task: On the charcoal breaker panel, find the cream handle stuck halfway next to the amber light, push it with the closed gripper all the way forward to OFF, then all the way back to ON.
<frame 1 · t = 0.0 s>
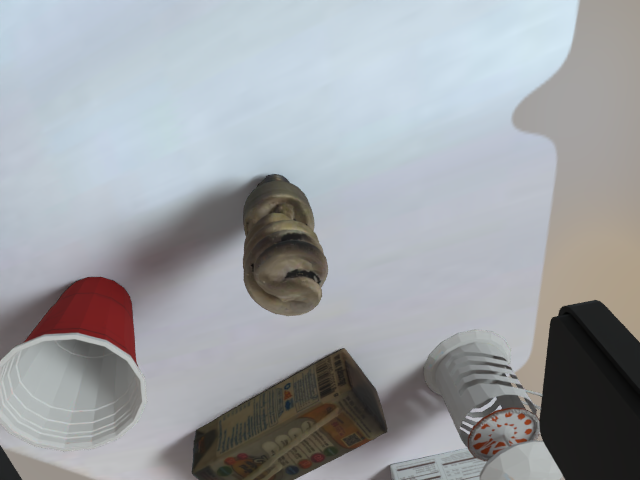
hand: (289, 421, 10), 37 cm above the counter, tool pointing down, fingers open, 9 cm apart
french press: (474, 363, 62), on the counter
plastic cup: (100, 299, 51), on the counter
beverage carton: (285, 406, 62), on the counter
light bulb: (272, 186, 48), on the counter
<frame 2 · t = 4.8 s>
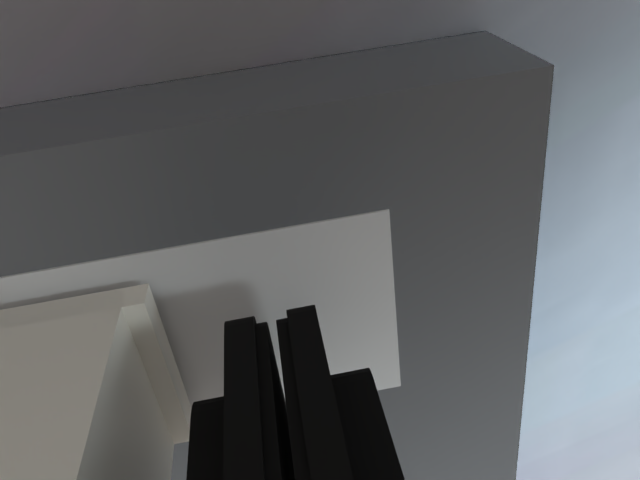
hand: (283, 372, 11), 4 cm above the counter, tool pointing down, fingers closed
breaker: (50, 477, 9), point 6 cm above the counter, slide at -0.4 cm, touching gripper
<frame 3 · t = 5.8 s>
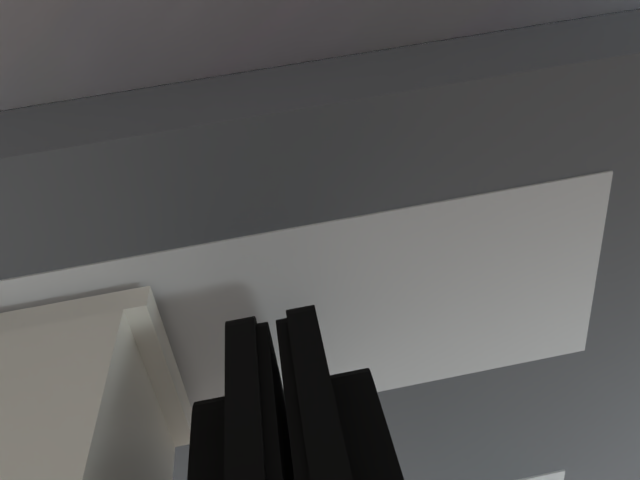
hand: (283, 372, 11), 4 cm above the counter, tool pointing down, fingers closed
breaker panel: (339, 474, 19), on the counter
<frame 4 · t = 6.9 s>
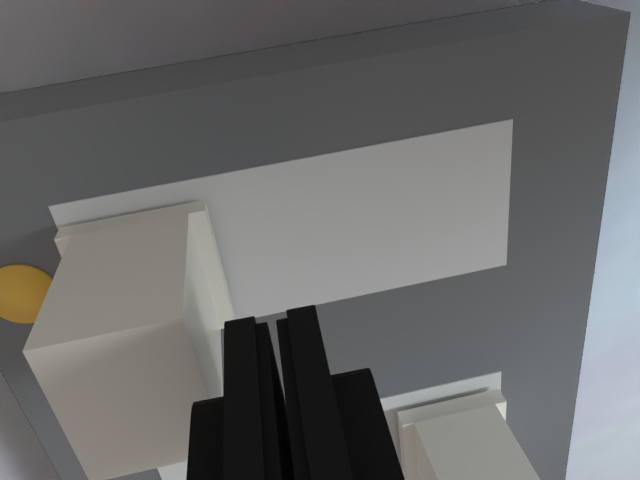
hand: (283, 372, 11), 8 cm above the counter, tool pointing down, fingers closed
breaker panel: (322, 394, 23), on the counter
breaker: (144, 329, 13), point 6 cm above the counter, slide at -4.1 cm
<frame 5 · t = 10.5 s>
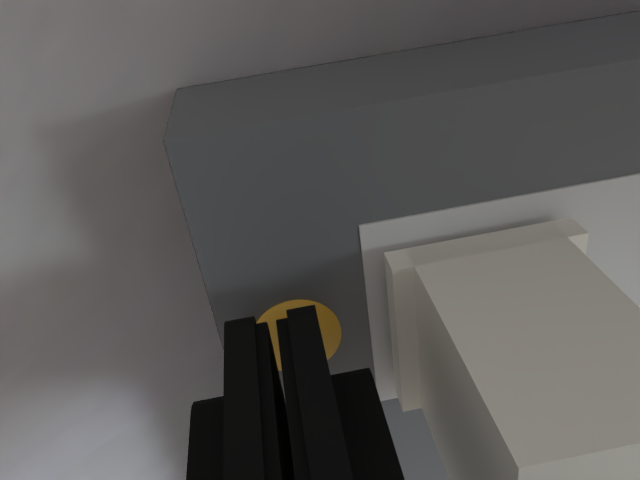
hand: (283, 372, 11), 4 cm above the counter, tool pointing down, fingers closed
breaker panel: (546, 437, 19), on the counter
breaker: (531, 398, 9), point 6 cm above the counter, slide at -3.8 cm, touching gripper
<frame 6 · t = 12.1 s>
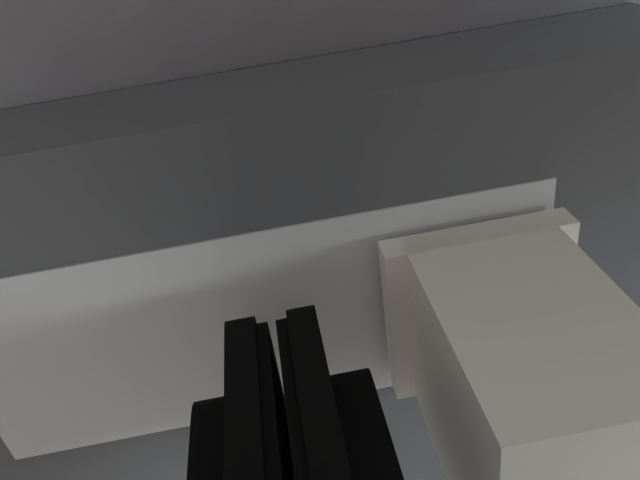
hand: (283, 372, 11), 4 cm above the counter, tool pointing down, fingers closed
breaker panel: (309, 476, 19), on the counter
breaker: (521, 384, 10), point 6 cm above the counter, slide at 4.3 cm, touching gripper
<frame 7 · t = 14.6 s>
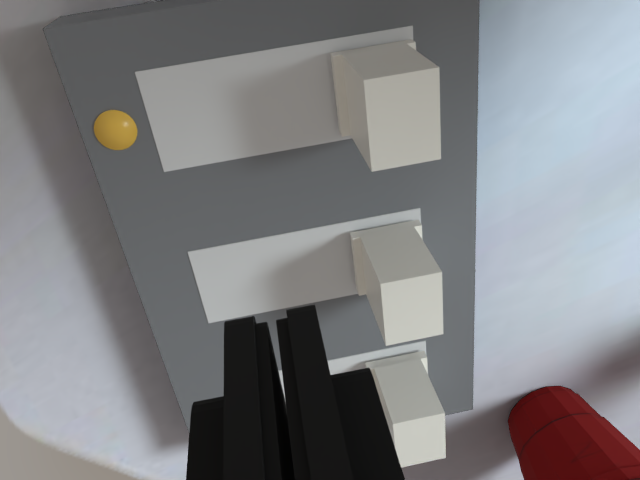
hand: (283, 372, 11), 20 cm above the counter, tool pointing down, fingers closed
breaker panel: (304, 238, 33), on the counter
plastic cup: (543, 408, 44), on the counter
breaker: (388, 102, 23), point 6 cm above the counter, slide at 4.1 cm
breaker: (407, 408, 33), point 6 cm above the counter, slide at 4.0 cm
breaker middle: (398, 280, 28), point 6 cm above the counter, slide at 4.0 cm
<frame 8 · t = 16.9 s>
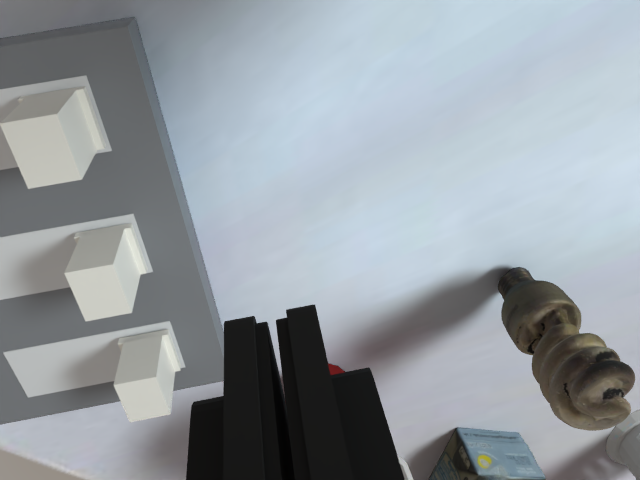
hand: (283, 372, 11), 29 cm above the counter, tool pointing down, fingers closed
breaker panel: (64, 237, 40), on the counter
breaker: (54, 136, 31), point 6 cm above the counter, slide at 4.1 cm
light bulb: (505, 276, 48), on the counter
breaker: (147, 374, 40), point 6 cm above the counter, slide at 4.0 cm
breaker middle: (106, 271, 36), point 6 cm above the counter, slide at 4.0 cm
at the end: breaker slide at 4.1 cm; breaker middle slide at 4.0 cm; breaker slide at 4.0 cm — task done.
